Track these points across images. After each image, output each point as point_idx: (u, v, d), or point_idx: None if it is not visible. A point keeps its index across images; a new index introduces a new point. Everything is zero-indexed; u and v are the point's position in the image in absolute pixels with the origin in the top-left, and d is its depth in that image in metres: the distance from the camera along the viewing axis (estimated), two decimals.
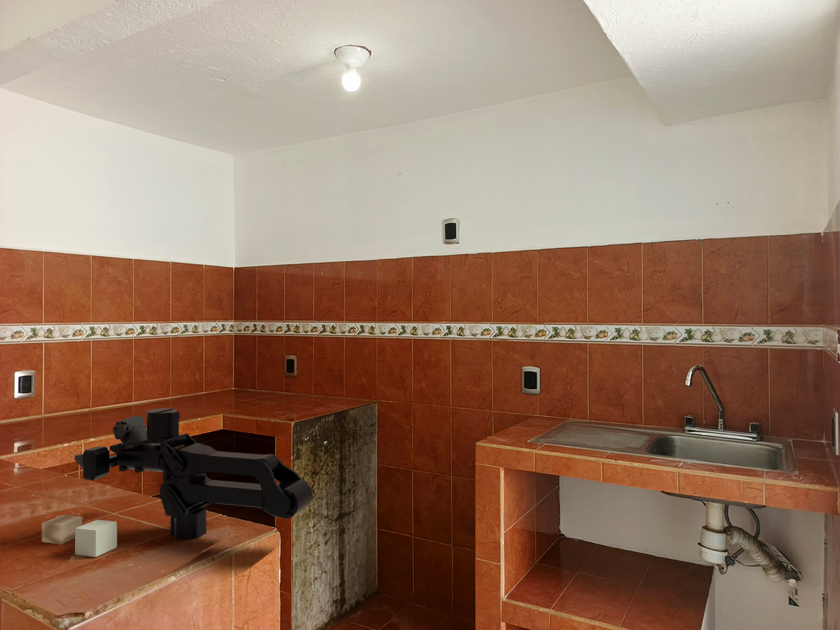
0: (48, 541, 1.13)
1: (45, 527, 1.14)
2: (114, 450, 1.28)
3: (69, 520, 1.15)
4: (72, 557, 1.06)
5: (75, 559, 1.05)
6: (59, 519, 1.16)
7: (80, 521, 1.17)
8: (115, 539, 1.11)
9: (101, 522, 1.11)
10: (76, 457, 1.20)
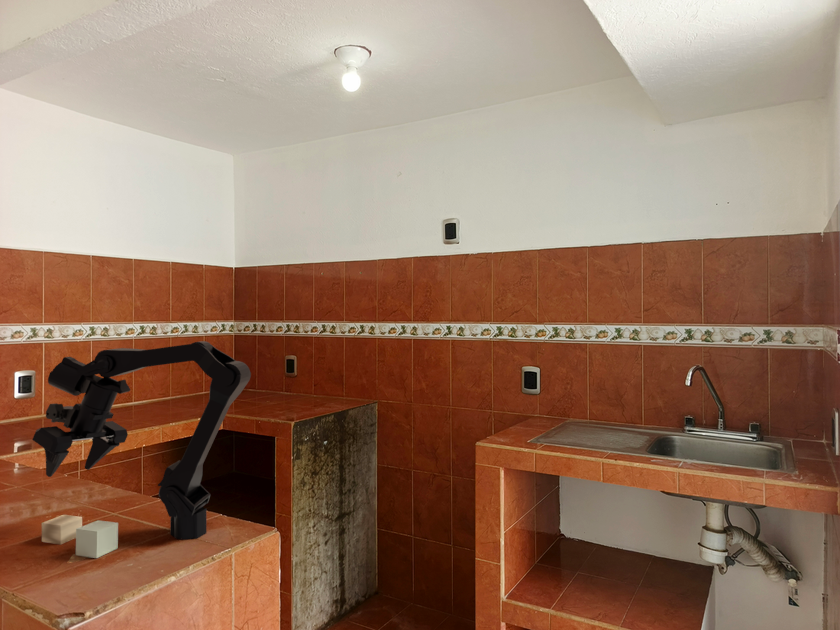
0: (48, 541, 1.13)
1: (45, 527, 1.14)
2: (89, 464, 1.22)
3: (69, 520, 1.15)
4: (72, 557, 1.06)
5: (75, 559, 1.06)
6: (59, 519, 1.16)
7: (80, 521, 1.17)
8: (116, 540, 1.10)
9: (103, 523, 1.10)
10: (47, 471, 1.13)
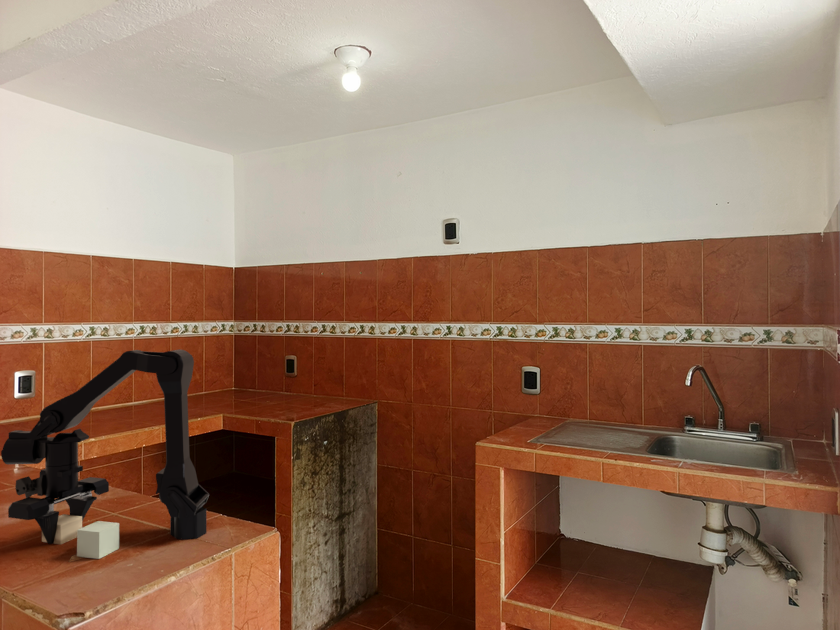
0: None
1: None
2: None
3: (69, 519, 1.15)
4: (72, 557, 1.06)
5: (75, 559, 1.06)
6: (59, 519, 1.16)
7: (80, 520, 1.17)
8: (117, 540, 1.10)
9: (103, 523, 1.10)
10: (47, 539, 1.13)
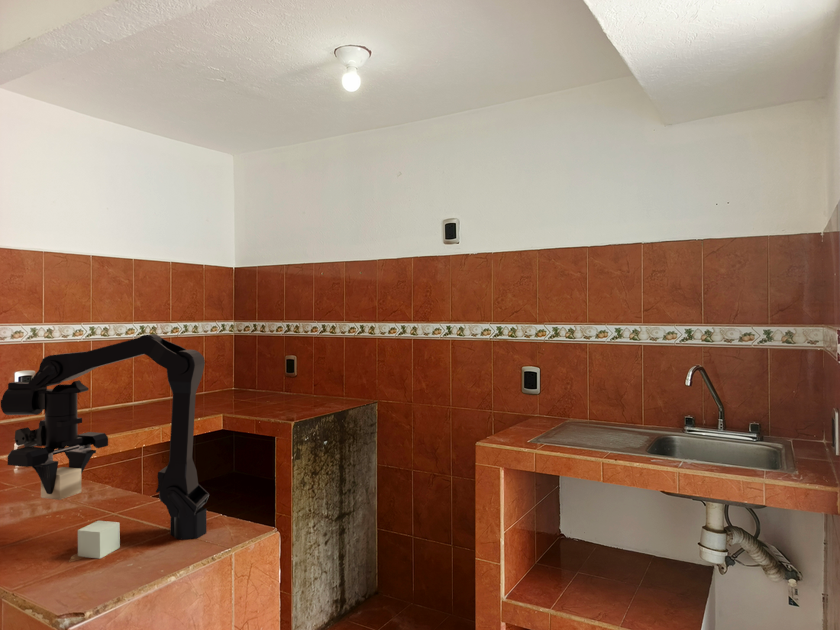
0: None
1: None
2: None
3: (68, 471, 1.15)
4: (72, 557, 1.07)
5: (75, 559, 1.06)
6: (58, 470, 1.16)
7: (79, 472, 1.17)
8: (118, 540, 1.10)
9: (104, 523, 1.10)
10: (46, 489, 1.13)
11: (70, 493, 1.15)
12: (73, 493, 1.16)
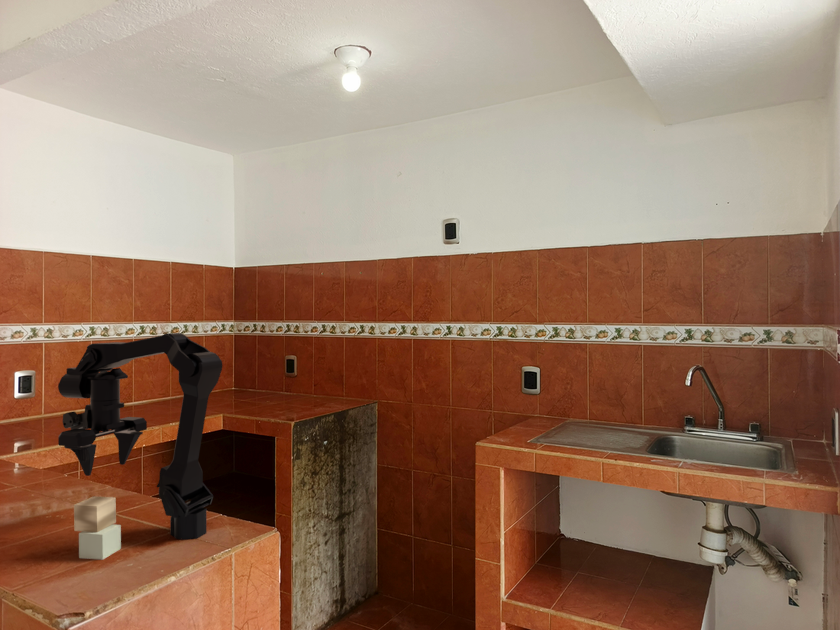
0: (82, 524, 1.07)
1: (78, 509, 1.07)
2: (123, 458, 1.28)
3: (103, 501, 1.09)
4: None
5: None
6: (92, 501, 1.09)
7: (114, 502, 1.11)
8: (119, 542, 1.10)
9: None
10: (85, 471, 1.19)
11: (106, 524, 1.09)
12: (109, 524, 1.10)
